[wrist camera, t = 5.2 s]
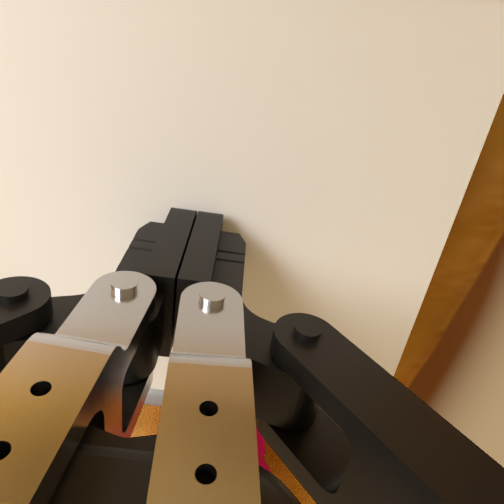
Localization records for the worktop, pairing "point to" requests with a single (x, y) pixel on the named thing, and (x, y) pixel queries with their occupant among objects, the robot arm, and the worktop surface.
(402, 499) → the robot arm
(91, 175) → the lid
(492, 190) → the worktop surface
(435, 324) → the worktop surface
